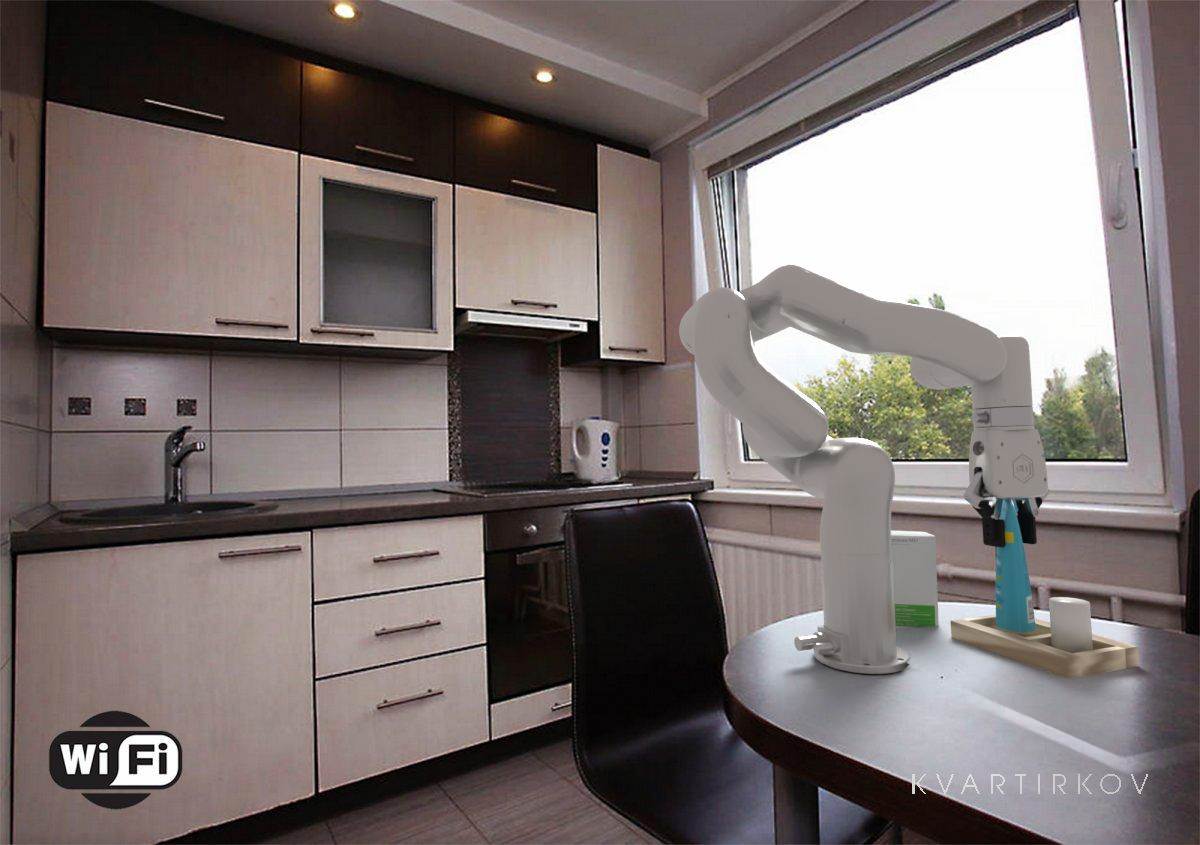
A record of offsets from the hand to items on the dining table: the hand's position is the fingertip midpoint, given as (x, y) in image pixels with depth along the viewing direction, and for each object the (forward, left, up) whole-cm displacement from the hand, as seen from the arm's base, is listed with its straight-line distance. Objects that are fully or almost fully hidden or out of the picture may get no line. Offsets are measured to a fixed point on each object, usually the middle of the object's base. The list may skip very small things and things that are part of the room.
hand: (1009, 543), depth 93 cm
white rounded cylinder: (0, -8, -15) cm, 17 cm away
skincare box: (-5, +16, -16) cm, 23 cm away
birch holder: (0, -3, -16) cm, 16 cm away
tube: (0, 0, -13) cm, 13 cm away
